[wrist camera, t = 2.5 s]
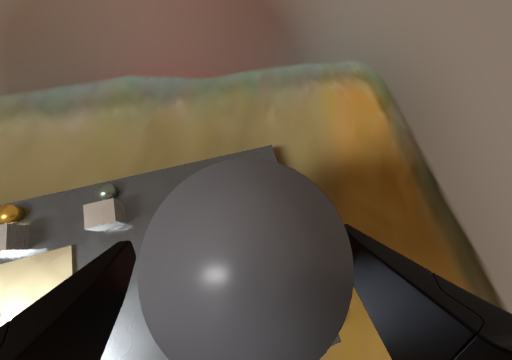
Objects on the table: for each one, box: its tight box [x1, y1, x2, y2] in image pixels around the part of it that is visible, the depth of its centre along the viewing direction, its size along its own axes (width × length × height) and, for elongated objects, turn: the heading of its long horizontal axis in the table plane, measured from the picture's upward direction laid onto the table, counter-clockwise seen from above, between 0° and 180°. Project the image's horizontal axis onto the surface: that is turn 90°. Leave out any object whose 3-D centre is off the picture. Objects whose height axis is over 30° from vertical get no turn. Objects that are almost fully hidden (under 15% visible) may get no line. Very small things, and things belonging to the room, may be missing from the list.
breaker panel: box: [0, 145, 341, 360], centre depth 13 cm, size 15×24×3 cm, turn 107°
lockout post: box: [137, 158, 354, 360], centre depth 9 cm, size 4×4×11 cm
